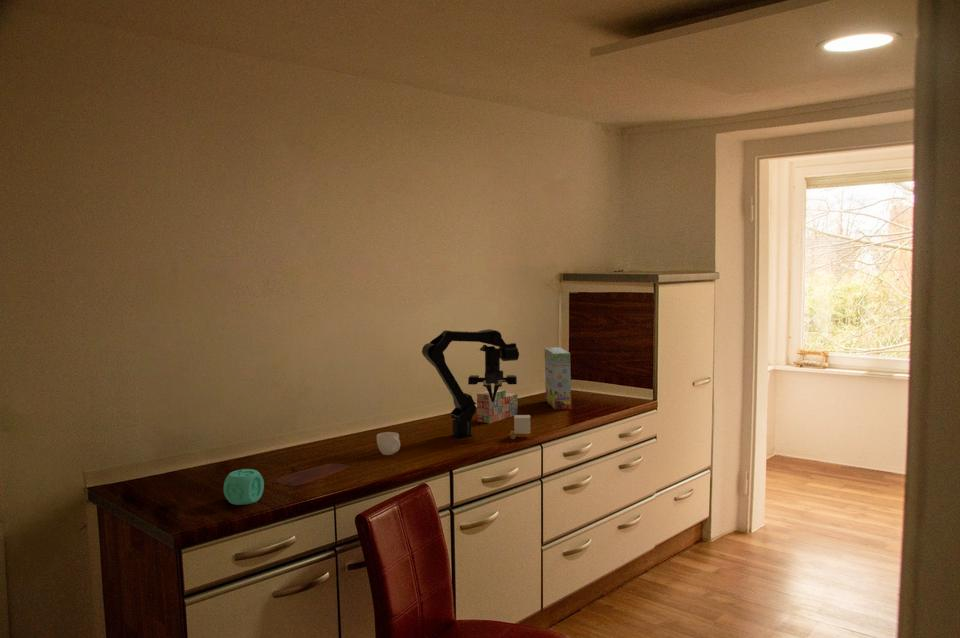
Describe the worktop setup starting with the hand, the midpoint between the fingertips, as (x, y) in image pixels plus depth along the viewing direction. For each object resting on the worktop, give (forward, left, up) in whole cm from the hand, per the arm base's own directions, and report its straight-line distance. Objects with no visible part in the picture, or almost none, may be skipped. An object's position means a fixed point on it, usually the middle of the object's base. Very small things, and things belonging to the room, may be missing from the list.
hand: (492, 401), depth 290 cm
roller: (+1, -12, -11) cm, 16 cm away
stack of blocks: (+18, +19, -12) cm, 29 cm away
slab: (+3, -14, -10) cm, 17 cm away
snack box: (+57, +24, -12) cm, 63 cm away
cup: (-48, -3, -12) cm, 50 cm away
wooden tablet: (-79, -9, -13) cm, 81 cm away
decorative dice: (-106, -21, -12) cm, 109 cm away
